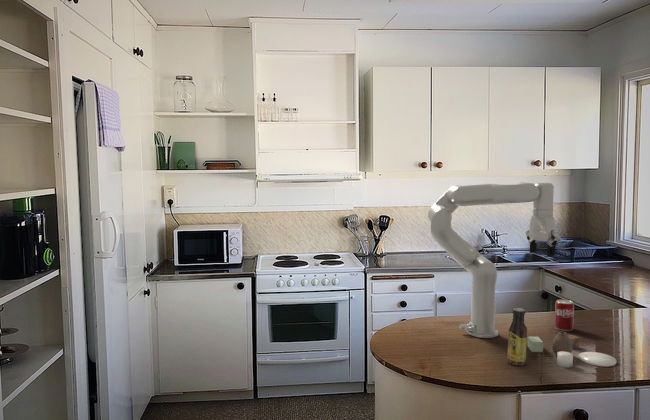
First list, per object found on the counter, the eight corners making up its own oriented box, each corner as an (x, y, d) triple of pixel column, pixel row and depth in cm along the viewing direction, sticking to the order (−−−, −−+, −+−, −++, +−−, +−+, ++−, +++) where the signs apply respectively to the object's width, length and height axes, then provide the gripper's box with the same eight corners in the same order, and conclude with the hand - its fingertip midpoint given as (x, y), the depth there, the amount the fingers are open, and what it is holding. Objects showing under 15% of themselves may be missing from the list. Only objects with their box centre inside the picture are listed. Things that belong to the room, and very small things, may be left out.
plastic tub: (562, 368, 177) (562, 357, 177) (554, 362, 182) (554, 351, 181) (575, 367, 178) (576, 356, 177) (567, 361, 182) (567, 350, 182)
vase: (570, 353, 190) (571, 330, 189) (573, 360, 184) (574, 336, 183) (550, 351, 192) (551, 328, 192) (552, 357, 186) (553, 334, 185)
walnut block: (572, 349, 195) (572, 339, 194) (563, 346, 198) (563, 336, 198) (578, 347, 196) (579, 337, 196) (569, 344, 200) (570, 334, 200)
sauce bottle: (504, 360, 184) (505, 306, 183) (520, 359, 185) (522, 306, 183) (512, 367, 178) (513, 311, 176) (529, 366, 178) (531, 311, 177)
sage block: (531, 351, 193) (531, 341, 192) (527, 346, 198) (527, 336, 198) (542, 352, 192) (543, 342, 192) (538, 346, 198) (538, 336, 198)
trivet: (592, 367, 177) (593, 365, 177) (571, 354, 189) (571, 352, 189) (624, 365, 178) (624, 363, 178) (601, 352, 190) (601, 350, 190)
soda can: (575, 332, 214) (576, 304, 213) (556, 331, 215) (557, 303, 214) (570, 326, 221) (571, 299, 220) (552, 325, 223) (553, 298, 221)
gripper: (520, 211, 214) (519, 251, 216) (553, 215, 198) (552, 258, 200) (533, 210, 217) (532, 250, 218) (567, 214, 201) (566, 256, 203)
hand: (542, 254), depth 209 cm, fingers open, 9 cm apart
